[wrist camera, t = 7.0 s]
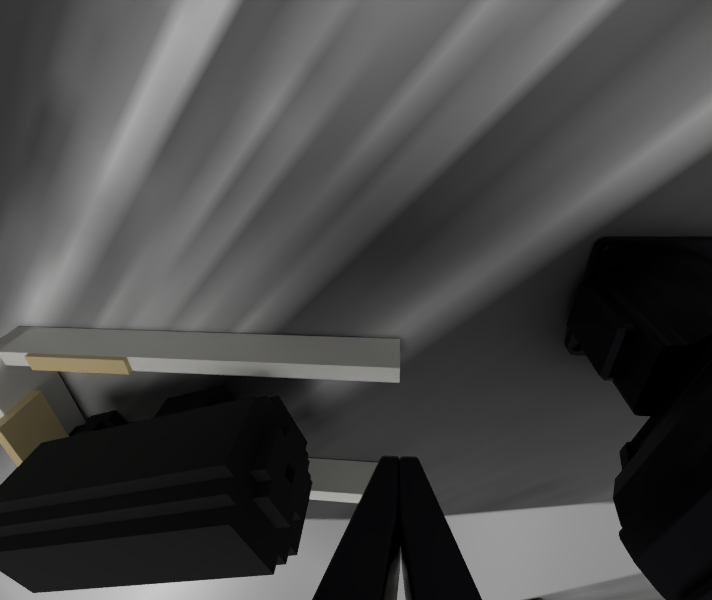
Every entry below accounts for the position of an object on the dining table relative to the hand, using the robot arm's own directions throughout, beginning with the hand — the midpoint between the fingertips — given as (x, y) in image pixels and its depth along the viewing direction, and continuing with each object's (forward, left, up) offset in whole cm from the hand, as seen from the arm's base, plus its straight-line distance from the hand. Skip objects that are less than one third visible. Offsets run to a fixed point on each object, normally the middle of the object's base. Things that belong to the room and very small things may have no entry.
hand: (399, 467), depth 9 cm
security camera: (+14, +12, -12) cm, 22 cm away
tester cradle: (+12, +11, -12) cm, 20 cm away
